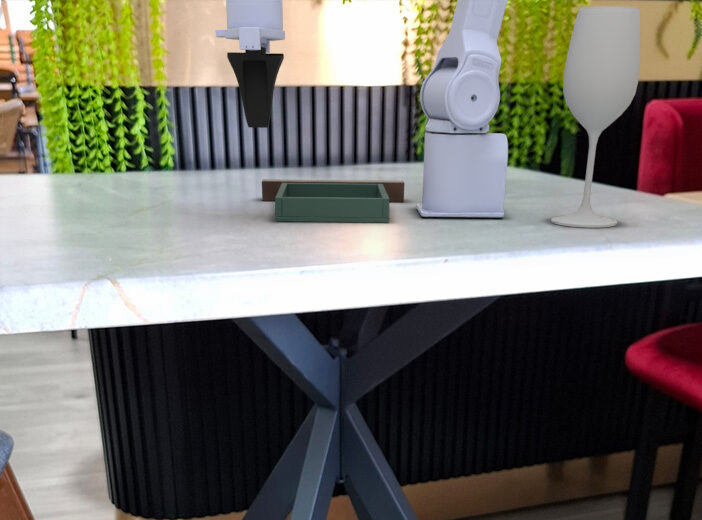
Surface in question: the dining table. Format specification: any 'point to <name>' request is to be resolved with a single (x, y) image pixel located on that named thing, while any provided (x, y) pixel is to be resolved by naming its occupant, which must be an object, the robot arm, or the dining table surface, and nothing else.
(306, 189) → the tray
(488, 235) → the dining table surface
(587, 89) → the wineglass
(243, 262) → the dining table surface
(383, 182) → the bar
